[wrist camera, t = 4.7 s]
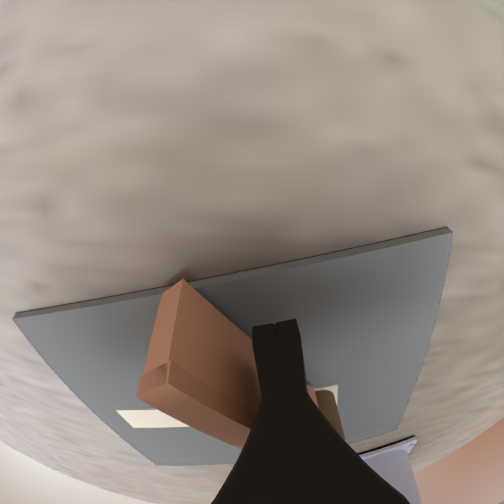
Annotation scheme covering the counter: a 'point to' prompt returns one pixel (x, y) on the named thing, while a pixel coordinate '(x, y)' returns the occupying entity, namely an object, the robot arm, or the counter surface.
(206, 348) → the swing panel
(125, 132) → the counter surface
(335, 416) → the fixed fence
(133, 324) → the card
